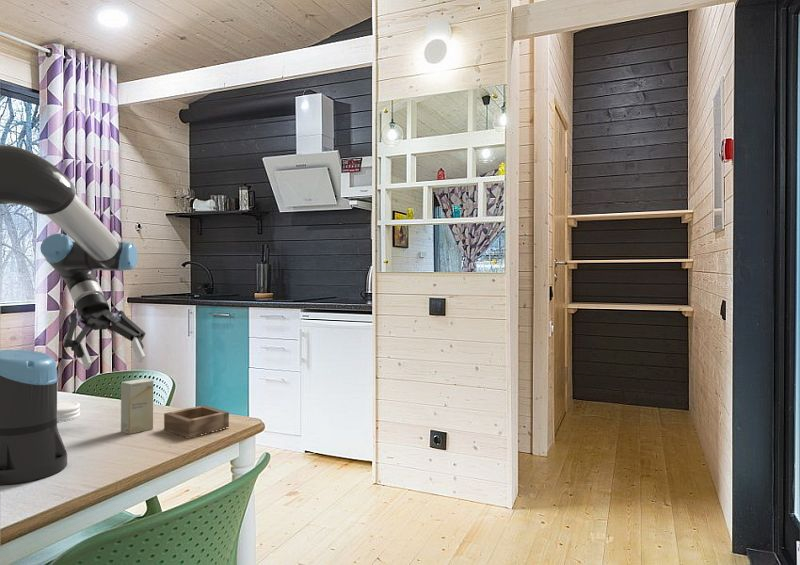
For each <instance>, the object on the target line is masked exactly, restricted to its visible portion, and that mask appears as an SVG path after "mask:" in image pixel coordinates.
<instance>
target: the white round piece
mask: <svg viewBox="0 0 800 565" xmlns="http://www.w3.org/2000/svg"><path fill="white" fill-rule="evenodd" d="M80 407H81V403H79V402H77V401H57V423H60V422H59V421H64V422H67V421H66V420H69V421H71V420H70V419H73V420H75V419H74V418H76V417H78V416H79V417H80V416H81V408H80ZM79 417H78V418H79ZM76 419H77V418H76Z"/></svg>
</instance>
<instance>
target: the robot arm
mask: <svg viewBox="0 0 800 565" xmlns="http://www.w3.org/2000/svg"><path fill="white" fill-rule="evenodd" d="M76 191H77V190H76V186H75V185H74V183H73V182H72V181H71V179H69V177H68V176H67V175H66V174H65V173H64V172H62V170H60V169H59V168H58V167H57V166H55V165H54V164H53V163H51V162H50V161H48V160H46V159H44V158H43V157H41V156H39V155H38V154H36V153H34V152H32V151H30V150H27V149H25V148H22V147H18V146H14V145H7V144H0V205H2V204H3V205H12V204H14V205H22V206H26V207H29V208H30V209H32V210H33V211H34V212H35V213H37V214H39V215H42V216H47V217H48V218H49V219H50V220H51V221H52V222H53V223H54V224H55V225H56V226H57V227H58V228H60V230H62V232H64V233H65V234H64V233H59V232H58V233H53V234H50V235H49V236H47V237H46V238H44V239H43V240H42V242H41V244H40V253H41V254H42V256H43V257H44V258H45V262H47V263H48V264H49V265H50V266H51V267H52V268H53V269H54V270H55V271H56V272H57V274H58V275H59V276H60V278H62V280H63V282H64V283H65V284H66V287H67V289H68V291H69V294H70V297H71V299H72V301H73V304H74V306H75V309H76V311H77V314H78V315H76V313H74V312H72V313H70V315H69V317H68V319H67V323H68V329H67V332H66V335H65V340H64V342H63V348H66V349H68V348H70V350H71V351H72V352H74V354H75V357H76V358H78V359H81V361H82V365H83V367H84V369H85V371H87V370H89V369H90V368H91V366H92V363H93V361H92V359H91V356H90V354H89V351H88V348H87V347H86V344H85V342H84V341H83V340H84V339H85V337H86V336H87V334H88V333H89V331H90V330H93V331H98V330H108V331H110V332H115V333H117V334H119V335H120V336H122V337H123V338H125V339H127V340H128V341H131V343H130V346H131V348H132V351H133V353H134V354H135V357H136V359H137V361H138V363H139V364H140V363H143V361H144V360H145V358H146V354H145V352H144V350H143V349H144V347H145V346H144V343H143V342H142V341H143V340H144V337H145V336H146V334H147V333H146V332H145V331H144V330H143V329H142V328H141V327H139V326H138V325H137V324H136V323H135V322H134V321H132V320H131V319H130V318H129V317H128V316H126V314H125V312H124V311H123V310H119V311H118V312H115V313H114V312H112V311H111V309H110V304H109V303H108V301H107V299H106V296H105V293H104V291H103V290H102V287H101V285H100V283H99V281H98V279H97V277H96V274H95V272H94V271H112V272H113V271H115V272H121V271H131V270H133V269H134V268H135V267H136V265H137V263H138V257H139V256H138V250H137V247H136V245H135V244H134V243H133V242H126V241H122V242H121V241H119V240H118V239H117V238H116V237H115V236H114V235H113V233H111V231H110V230H109V229H108V228H107V227H106V225H104V223H103V222H102V221H101V220H100V219H99V217H97V216H96V215H95V213H94V212H93V211H92V210H91V209H90V208H89V206H87V205H86V203H85V202H84V201H83V200H82V199H81V198H80V197H79V196H78V195H77V192H76ZM79 321H80V322H81V323H82V324H83V325H84V326H83V327H82V329H81V330H80V332H79V334H78V335H77V337H76V338H75V339H73V337H74V332H75V330H76V326H77V324H78V323H79ZM111 323H112V324H111ZM58 380H59V375H58V370H57V362H56V359H54V357H53V356H51V355H50V354H48V353H45V352H42V351H36V350H35V351H34V350H29V349H27V350H25V349H16V350H15V349H2V350H1V349H0V485H11V484H13V485H14V484H20V483H26V482H33V481H36V480H40V479H43V478H46V477H49V476H52V475H55V474H57V473H58V472H61V471H62V470H63V469H65V468H66V467H67V465H68V452H67V450H66V447H65V446H66V445H65V444H64V442H63V440H62V437H61V434H60V431H59V429H58V422H57V402H58Z"/></svg>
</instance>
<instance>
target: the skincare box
mask: <svg viewBox="0 0 800 565" xmlns="http://www.w3.org/2000/svg"><path fill="white" fill-rule="evenodd" d="M120 384H121V385H120V386H121V387H120V390H121V391H120V398H121V399H120V431H121V432H124V433H126V434H129V435H130V434H136V433H140V431H141V432H145V430H146V431H150V429H151V430H153V429H154V380H151V379H148V378H140V379H133V380H126V381H120Z"/></svg>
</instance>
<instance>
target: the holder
mask: <svg viewBox="0 0 800 565" xmlns="http://www.w3.org/2000/svg"><path fill="white" fill-rule="evenodd" d="M163 415H164V416H163V420H164V421H163V424H164V425H163V430H165V431H168V432H171V433H172V434H173V433H174V434H175V433H176V434H175V435H178V434H179V436H181V435H182V436H181V437H184V436H185V437H184V438H186V437H188V438H187V439H191V438H190V437H192V438H195V437H194V436H196V437H199V436H198V435H200V436H202V435H201V434H204V435H206V434H205V433H208V434H210V433H209V432H212V431H216V430H220V429H223V428H226V427H229V428H230V426H229V425H230V421H229V420H230V418H229V417H230V413H229V412H228V411H225V410H222V409H217V408H214V407H211V406H207V405H204V404H202V405H199V406H194V407H193V406H192V407H189V408H185V409H179V410H174V411H170V412H165V413H164V414H163ZM220 431H221V430H220ZM216 432H217V431H216ZM212 433H213V432H212Z"/></svg>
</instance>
